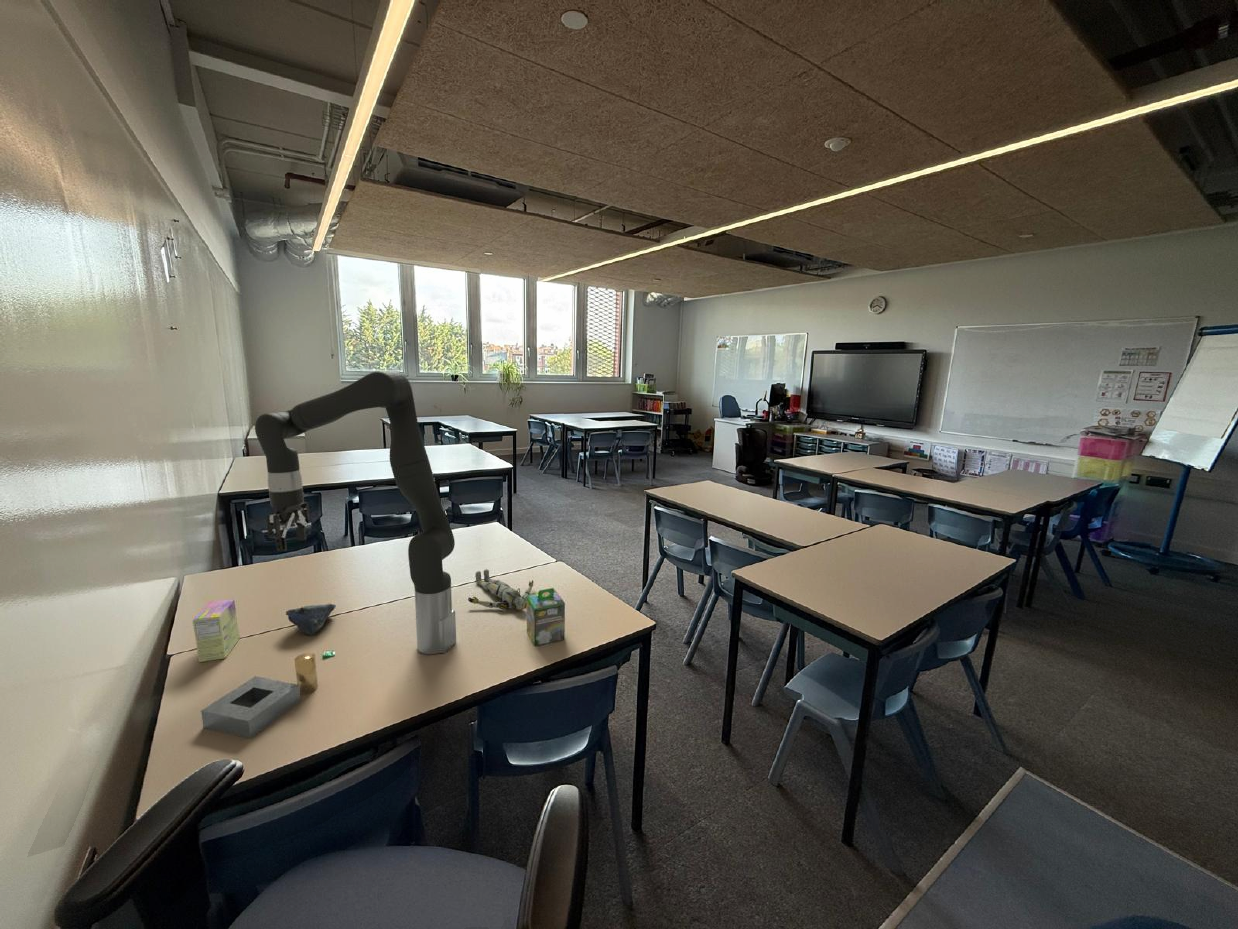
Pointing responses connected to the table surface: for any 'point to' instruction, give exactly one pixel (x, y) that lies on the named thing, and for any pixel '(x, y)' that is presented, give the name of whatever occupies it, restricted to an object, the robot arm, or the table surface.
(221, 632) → the box
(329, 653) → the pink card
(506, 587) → the action figure
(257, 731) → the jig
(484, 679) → the table surface
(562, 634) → the chalk box
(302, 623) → the rock
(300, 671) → the cylinder
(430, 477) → the robot arm
